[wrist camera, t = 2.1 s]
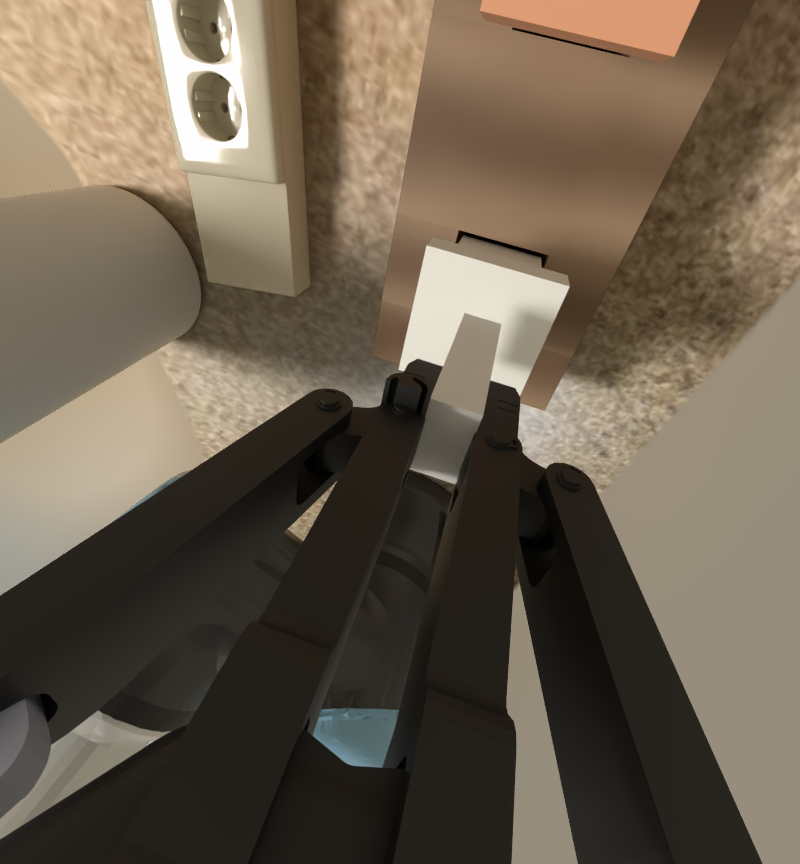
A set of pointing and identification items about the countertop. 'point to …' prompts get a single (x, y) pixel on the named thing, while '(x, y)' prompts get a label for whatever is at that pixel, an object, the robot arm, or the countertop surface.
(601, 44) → the plug terracotta
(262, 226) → the electrical outlet
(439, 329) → the white square plug
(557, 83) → the block
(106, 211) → the cylinder vase
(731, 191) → the countertop surface
